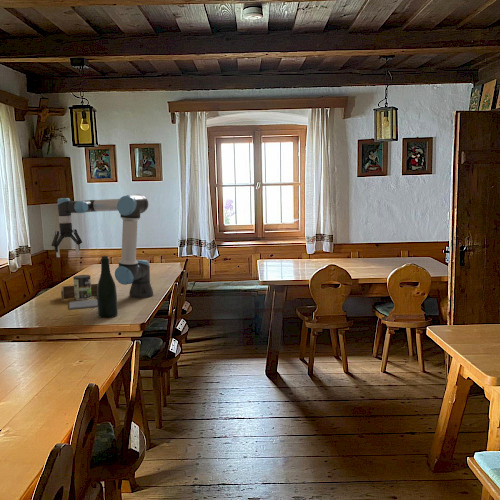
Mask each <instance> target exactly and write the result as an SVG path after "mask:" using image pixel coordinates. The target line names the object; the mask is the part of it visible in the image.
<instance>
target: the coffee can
mask: <svg viewBox="0 0 500 500" xmlns="http://www.w3.org/2000/svg"><path fill="white" fill-rule="evenodd" d="M72 279H73V286H74V293H75V297H74V299H75V301H76V300H77V301H85V300H91V298H92V295H91V284H92V282H91V275H90V274H80V275H74V276H73V277H72Z"/></svg>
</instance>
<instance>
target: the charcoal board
mask: <svg viewBox="0 0 500 500" xmlns="http://www.w3.org/2000/svg"><path fill="white" fill-rule="evenodd" d="M68 306H69V307H68V308H69V310H80V309H81V310H82V309H88V308H89V309H91V308H98V303H97V299H86V300H77V301H76V300H75V301H69V305H68Z"/></svg>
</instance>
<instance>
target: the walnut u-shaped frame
mask: <svg viewBox="0 0 500 500" xmlns="http://www.w3.org/2000/svg"><path fill="white" fill-rule="evenodd" d="M97 286H98V283H91V296H94V295H95V296H97ZM60 292H61V293H60V295H61V303H64V301H65V298H75V293H74V285H67V286H66V285H64V286H61V290H60Z"/></svg>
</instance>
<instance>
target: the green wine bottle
mask: <svg viewBox="0 0 500 500" xmlns="http://www.w3.org/2000/svg"><path fill="white" fill-rule="evenodd" d="M100 269H101V270H100V275H99V279H98V282H97V284H98V286H97V295H96V300H97V303H98V307H97V316H98V317H99V318H103V319H106V318H107V319H108V318H114V317H116V316H117V315H118V314H119V309H118V308H119V306H118V295H117V286H116V283H115V280H114V277H113V276H112V273H111V269H110V259H109V256H108V255H102V256H101V258H100Z"/></svg>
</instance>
